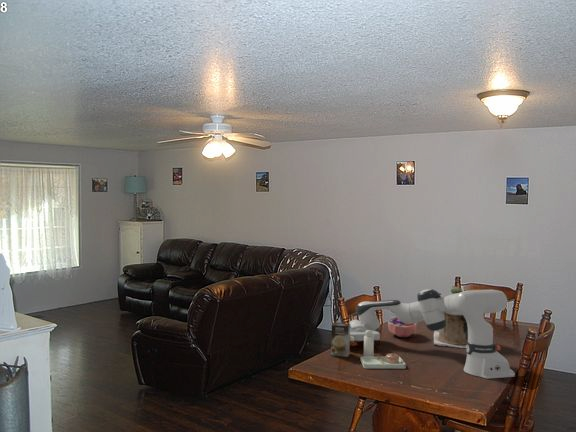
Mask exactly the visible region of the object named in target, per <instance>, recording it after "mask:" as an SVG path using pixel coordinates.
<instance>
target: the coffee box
mask: <svg viewBox="0 0 576 432" xmlns="http://www.w3.org/2000/svg"><path fill="white" fill-rule="evenodd" d="M330 337H331V338H330V339H331V340H330V341H331V342H330V346H331V347H330V355H331V356H334V357H335V356H336V357H346V358H349V355H350V344H351V343H350V324H349V323H346V322H345V323H344V322H337V321H336V322H335V321H333V323H332V324H331V336H330Z"/></svg>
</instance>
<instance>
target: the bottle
mask: <svg viewBox="0 0 576 432" xmlns="http://www.w3.org/2000/svg"><path fill="white" fill-rule="evenodd" d="M374 346H375V340H374V336H372V330H366V335H365V336H364V340H363V356H365V357H375V354H374V352H375V349H374V348H375V347H374Z"/></svg>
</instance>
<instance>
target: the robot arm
mask: <svg viewBox="0 0 576 432" xmlns="http://www.w3.org/2000/svg"><path fill="white" fill-rule="evenodd" d="M441 295H442V293H440V292H439V291H437V290H435V289H431V288H426V289H423V290H420V291H419V292H418V293H417V296H416V298H417V301H413V302H409V303H408V302H407V303H405V302H401V301H400V300H399V299H388V300H386V299H385V300H375V301H373V300H372V301H371V300H370V301H369V300H367V301H361V302H359V303H358V304H357V305H356V307H355V312H356V314H357V316H358V317H359V320H358V319H352V320H351V321H349V323H348V324H350V341H351V342H364V336H365V335H366V330H372V336H374V341H379V340H381V334H380V332H379V330H380V328H381V323H380V321H379V318H378V316H377V314H376V312H375V310H378V311H379V310H389V311H390V312H392V313H393V315H394V316H395V317H396V319H397V318H398V319H399V320H400V321H401V322H403V323H405V324H413V323H421V322H423V321H424V322H425V326H426V328H427V330H429V331H430V332H435V331H437V332H439V331H440V330H442V329H443V328H445V326H446V319H445V316H444V312H445V313H447V314H450V315H463V316H464V317H465V319H466V322H467V326H468V341H467V346H466V348H465V349H466V359H465V364H464V367H463V371H464V372H465V373H467V374H469V375H471V376H475V377H479V378H482V379H488V380H489V379H499V378H513V377H514V378H515V377H516V373H515V372H514V370H512V369H511V368H510V364H509V361H508V359H507V358H506V357H504V356H503V355H502V354H501V353H500V352H499V351H501V346H500V345H499V344H496V343H495V342H493V341H494V340H493V339H494V328H493V325H492V324H491V323H490V322H488V321H486V320H485V317H484V316H485V314H495V313H500V312H502V311H505V309H506V308H507V306H508V297H507V295H506V293H504V292H503V291H502V290H497V289H474V290H472V289H471V290H464V291H462V292H460V293H455V294H452V293H451V294H449V295H446V296H444V297H443V296H441ZM443 311H444V312H443Z"/></svg>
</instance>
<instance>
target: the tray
mask: <svg viewBox="0 0 576 432" xmlns="http://www.w3.org/2000/svg"><path fill="white" fill-rule="evenodd" d="M359 358H360V362H361V365H362V366H363V368H364V369H394V370H395V369H406V368H407V367H406V366H407V364H406V363H405V362H404V360H403V359H402V358H401V356H399V363H398V364H390V363H387V362H386V356H374V357H365V356H364V355H362V356H360V357H359Z"/></svg>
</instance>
